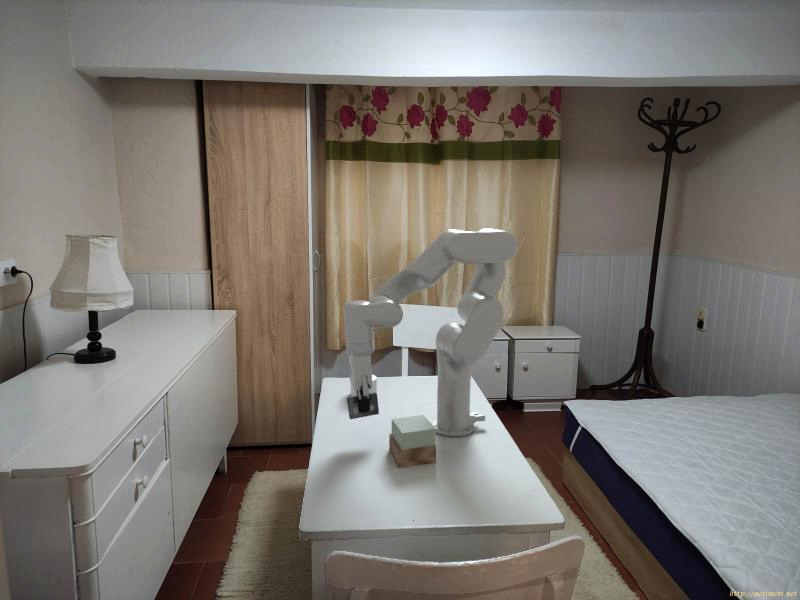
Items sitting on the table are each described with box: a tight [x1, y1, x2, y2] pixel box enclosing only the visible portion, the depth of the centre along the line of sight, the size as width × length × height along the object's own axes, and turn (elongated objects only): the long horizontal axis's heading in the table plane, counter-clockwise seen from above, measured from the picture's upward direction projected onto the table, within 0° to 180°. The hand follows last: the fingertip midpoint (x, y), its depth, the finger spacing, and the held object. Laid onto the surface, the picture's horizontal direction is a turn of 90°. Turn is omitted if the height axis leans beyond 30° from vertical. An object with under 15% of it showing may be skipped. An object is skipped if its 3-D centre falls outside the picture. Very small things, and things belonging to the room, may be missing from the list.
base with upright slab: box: [350, 374, 378, 397], centre depth 185 cm, size 9×9×12 cm
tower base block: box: [388, 432, 437, 469], centre depth 142 cm, size 10×10×5 cm
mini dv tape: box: [346, 392, 380, 420], centre depth 149 cm, size 8×2×6 cm, turn 103°
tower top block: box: [391, 414, 437, 450], centre depth 141 cm, size 9×9×4 cm
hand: (363, 409), depth 150 cm, fingers closed on mini dv tape, 1 cm apart
